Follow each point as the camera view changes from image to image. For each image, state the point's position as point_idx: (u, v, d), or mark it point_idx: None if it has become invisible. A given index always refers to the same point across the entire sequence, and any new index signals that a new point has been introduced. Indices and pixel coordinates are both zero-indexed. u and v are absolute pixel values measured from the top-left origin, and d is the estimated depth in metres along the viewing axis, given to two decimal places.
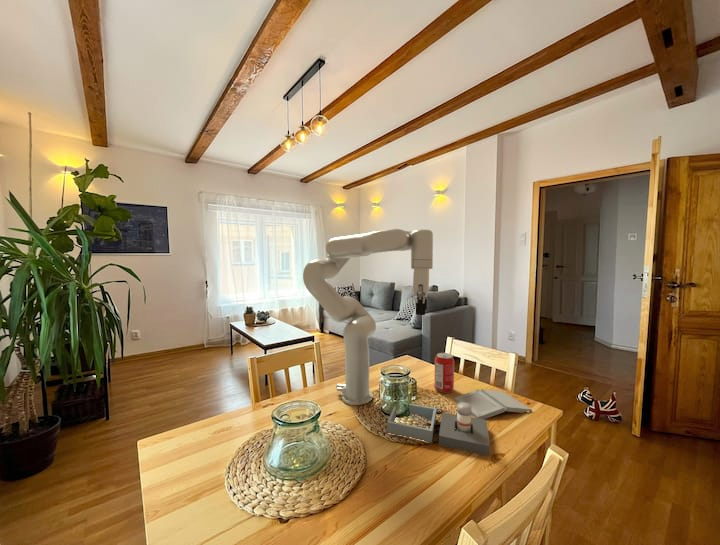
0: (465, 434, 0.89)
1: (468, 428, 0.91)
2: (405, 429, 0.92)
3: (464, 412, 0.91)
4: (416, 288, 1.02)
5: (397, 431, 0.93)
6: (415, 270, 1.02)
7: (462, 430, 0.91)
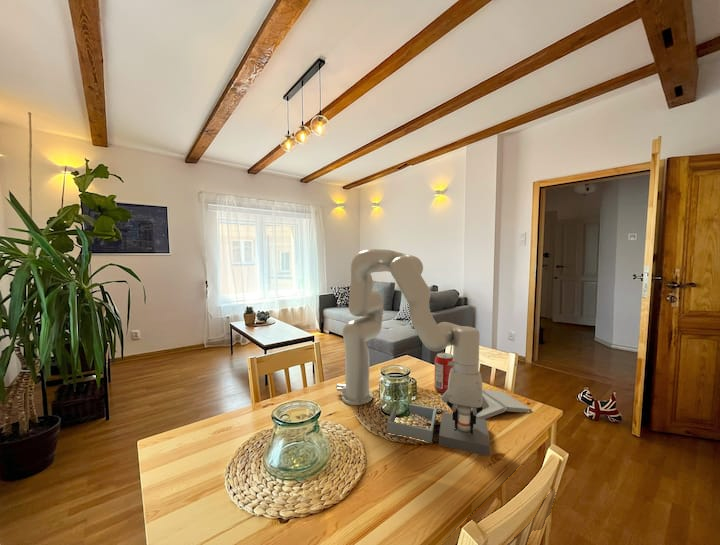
0: (465, 434, 0.89)
1: (468, 428, 0.91)
2: (405, 429, 0.92)
3: (464, 412, 0.91)
4: (482, 396, 0.89)
5: (397, 431, 0.93)
6: (480, 377, 0.89)
7: (462, 430, 0.91)
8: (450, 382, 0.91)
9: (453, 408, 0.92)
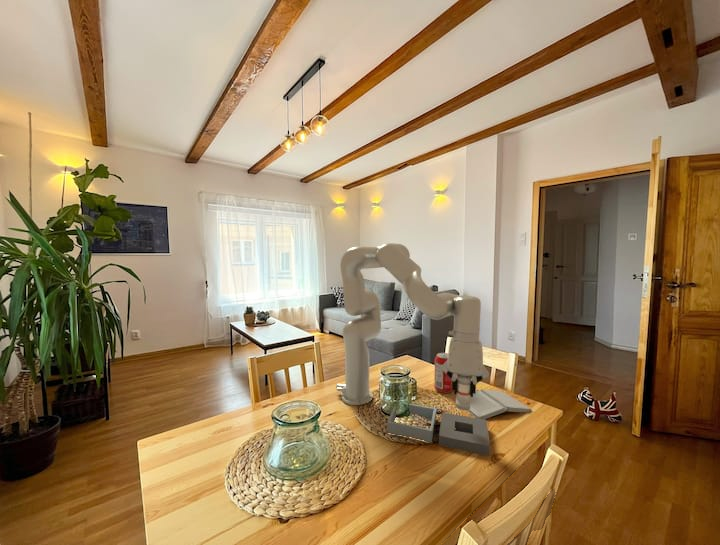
0: (465, 434, 0.89)
1: (468, 397, 0.91)
2: (405, 429, 0.92)
3: (464, 381, 0.90)
4: (482, 365, 0.89)
5: (397, 431, 0.93)
6: (480, 345, 0.88)
7: (462, 399, 0.91)
8: (450, 351, 0.91)
9: (453, 377, 0.92)
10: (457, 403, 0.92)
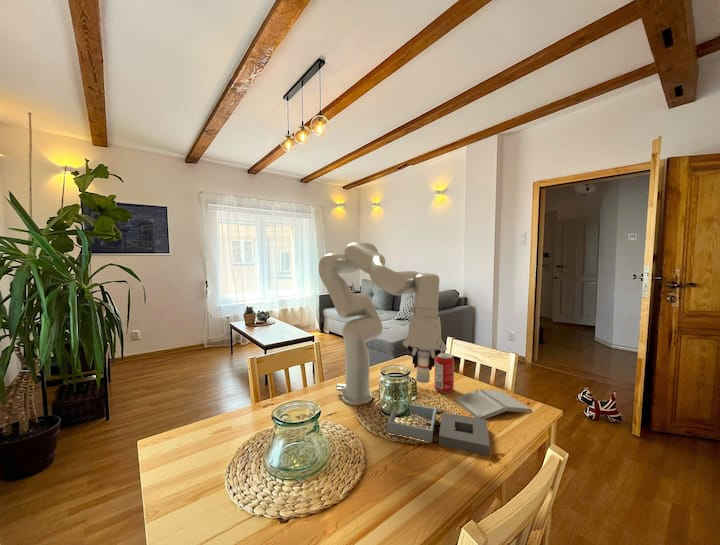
0: (465, 434, 0.89)
1: (427, 370, 0.95)
2: (405, 429, 0.92)
3: (423, 355, 0.94)
4: (440, 339, 0.93)
5: (397, 431, 0.93)
6: (438, 320, 0.92)
7: (421, 372, 0.95)
8: (410, 326, 0.94)
9: (413, 352, 0.96)
10: (417, 376, 0.96)
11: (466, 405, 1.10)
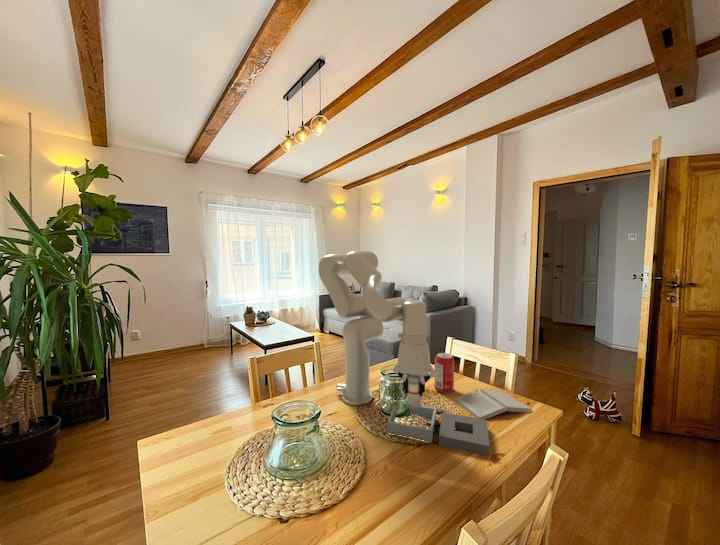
0: (465, 434, 0.89)
1: (417, 396, 0.96)
2: (405, 429, 0.92)
3: (413, 381, 0.95)
4: (429, 365, 0.94)
5: (397, 431, 0.93)
6: (426, 347, 0.94)
7: (411, 398, 0.96)
8: (399, 353, 0.96)
9: (403, 378, 0.97)
10: (408, 402, 0.97)
11: (466, 405, 1.10)
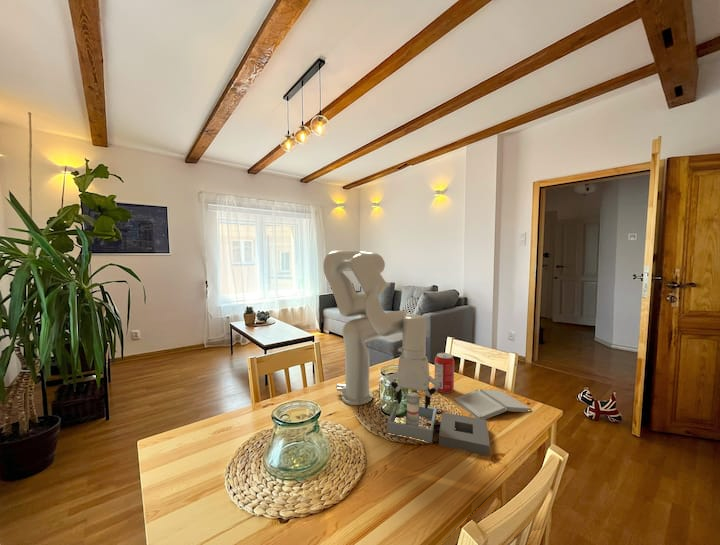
0: (465, 434, 0.89)
1: (416, 416, 0.97)
2: (405, 429, 0.92)
3: (412, 401, 0.96)
4: (428, 380, 0.94)
5: (397, 431, 0.93)
6: (426, 361, 0.94)
7: (410, 418, 0.97)
8: (399, 367, 0.96)
9: (397, 388, 0.98)
10: (406, 421, 0.98)
11: (466, 405, 1.10)
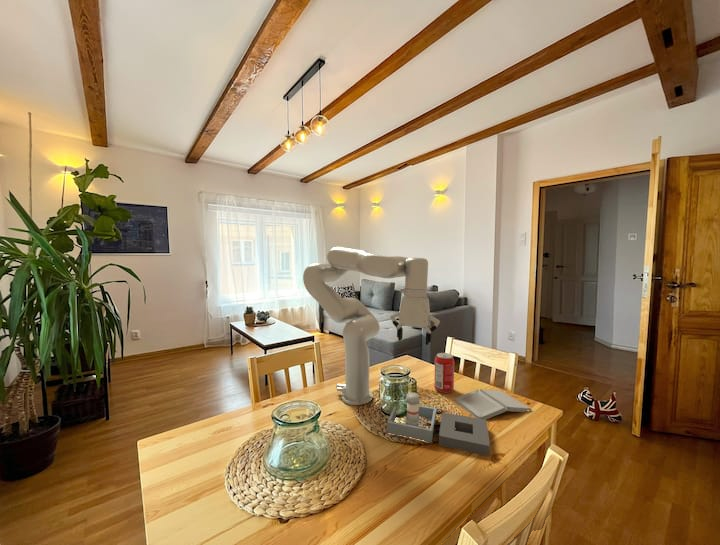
0: (465, 434, 0.89)
1: (416, 416, 0.96)
2: (405, 429, 0.92)
3: (411, 401, 0.96)
4: (428, 318, 1.00)
5: (397, 431, 0.93)
6: (426, 300, 0.99)
7: (410, 418, 0.97)
8: (401, 306, 1.02)
9: (398, 326, 1.04)
10: (406, 421, 0.98)
11: (466, 405, 1.10)
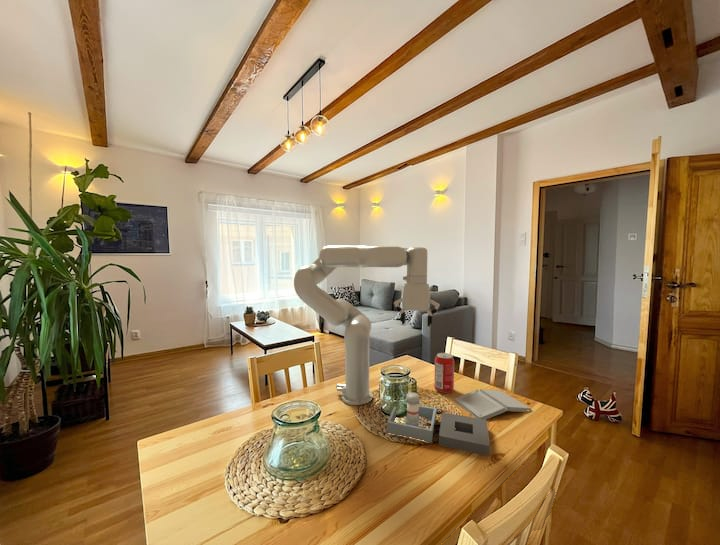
0: (465, 434, 0.89)
1: (416, 416, 0.97)
2: (405, 429, 0.92)
3: (412, 401, 0.96)
4: (429, 302, 1.10)
5: (397, 431, 0.93)
6: (427, 285, 1.09)
7: (410, 418, 0.97)
8: (404, 292, 1.11)
9: (401, 311, 1.13)
10: (406, 421, 0.98)
11: (466, 405, 1.10)
